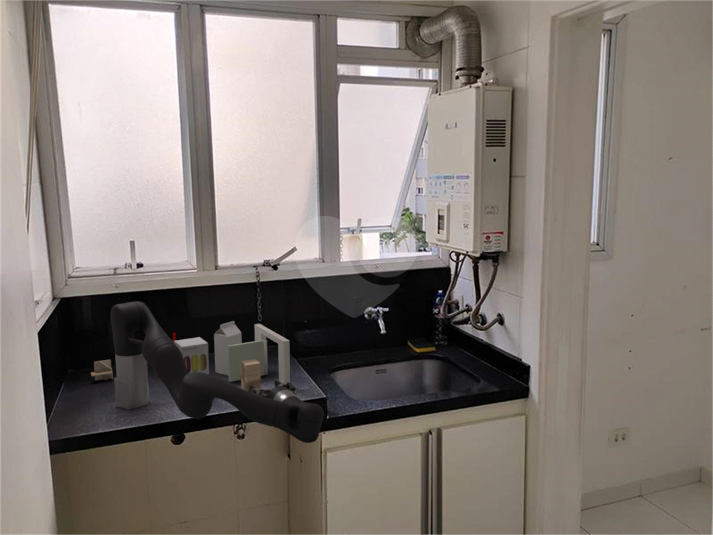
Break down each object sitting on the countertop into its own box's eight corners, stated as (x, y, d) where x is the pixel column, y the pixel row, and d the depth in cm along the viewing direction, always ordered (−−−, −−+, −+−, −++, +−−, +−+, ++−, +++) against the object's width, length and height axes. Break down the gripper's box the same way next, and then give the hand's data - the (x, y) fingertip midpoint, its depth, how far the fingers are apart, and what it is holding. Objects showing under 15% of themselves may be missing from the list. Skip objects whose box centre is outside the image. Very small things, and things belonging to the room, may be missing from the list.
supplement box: (182, 395, 190) (180, 347, 187) (174, 387, 197) (172, 340, 195) (210, 389, 195) (208, 342, 192) (201, 381, 203) (200, 336, 200)
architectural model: (113, 381, 203) (112, 362, 202) (92, 385, 200) (90, 365, 199) (112, 379, 206) (111, 359, 205) (91, 382, 203) (90, 362, 202)
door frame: (255, 370, 214) (254, 324, 211) (260, 369, 215) (259, 323, 212) (284, 392, 192) (283, 341, 190) (290, 391, 193) (289, 340, 191)
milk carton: (242, 370, 214) (241, 322, 211) (229, 376, 208) (227, 326, 205) (229, 367, 218) (227, 319, 215) (215, 372, 212) (213, 323, 209)
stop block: (261, 394, 191) (260, 363, 189) (247, 397, 188) (246, 365, 187) (255, 389, 195) (254, 358, 193) (241, 392, 193) (240, 361, 191)
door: (265, 372, 211) (264, 338, 209) (268, 374, 209) (267, 340, 206) (227, 379, 203) (226, 344, 201) (230, 381, 201) (229, 346, 199)
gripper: (262, 419, 166) (242, 401, 179) (305, 409, 173) (284, 392, 187) (261, 395, 165) (242, 378, 178) (305, 385, 172) (283, 370, 186)
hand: (263, 385), depth 183 cm, fingers open, 8 cm apart
